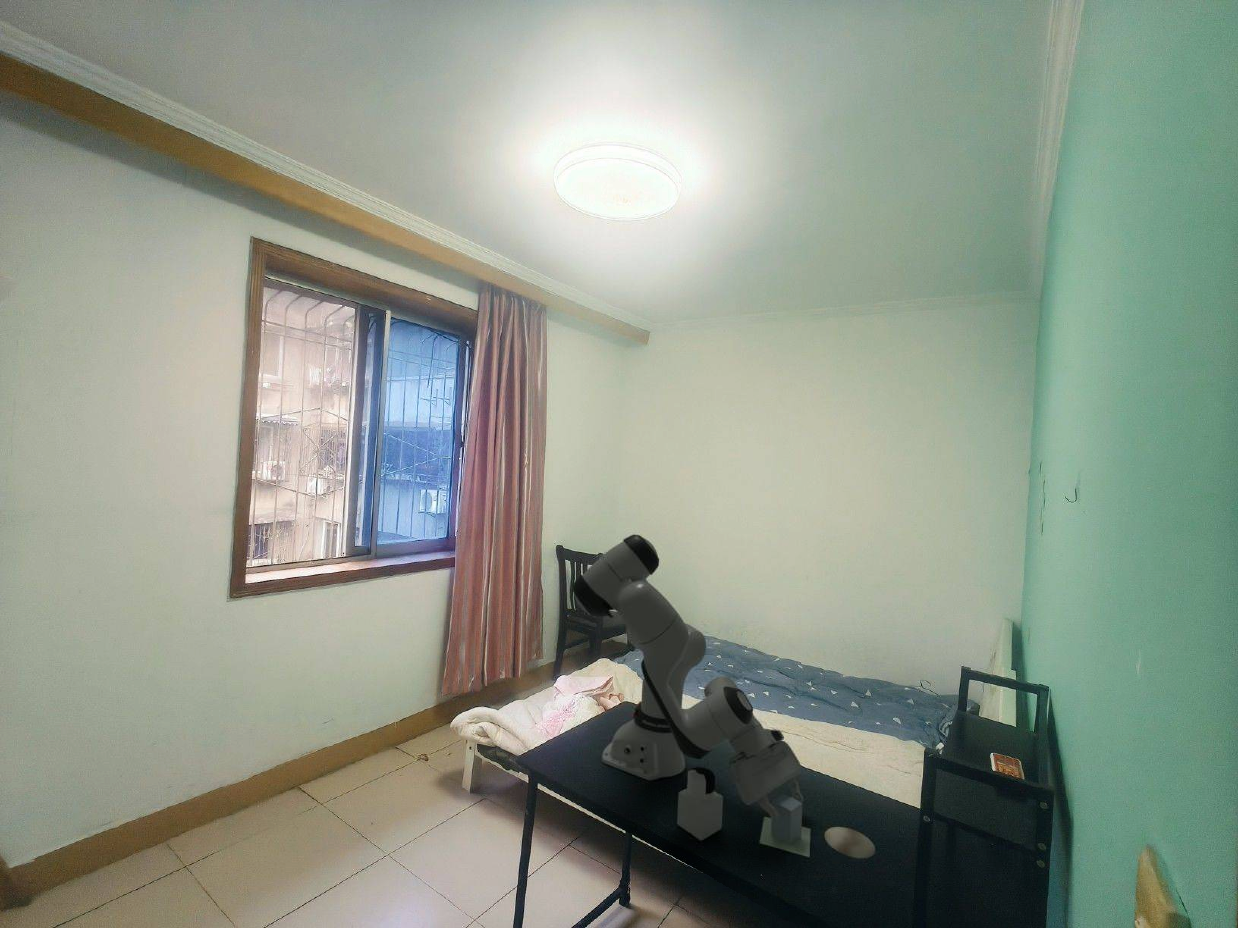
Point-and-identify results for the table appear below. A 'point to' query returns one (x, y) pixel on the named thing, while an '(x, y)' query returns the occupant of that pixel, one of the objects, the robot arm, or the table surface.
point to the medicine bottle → (700, 804)
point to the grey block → (787, 819)
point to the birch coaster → (849, 842)
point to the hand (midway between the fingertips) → (789, 810)
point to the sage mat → (797, 847)
